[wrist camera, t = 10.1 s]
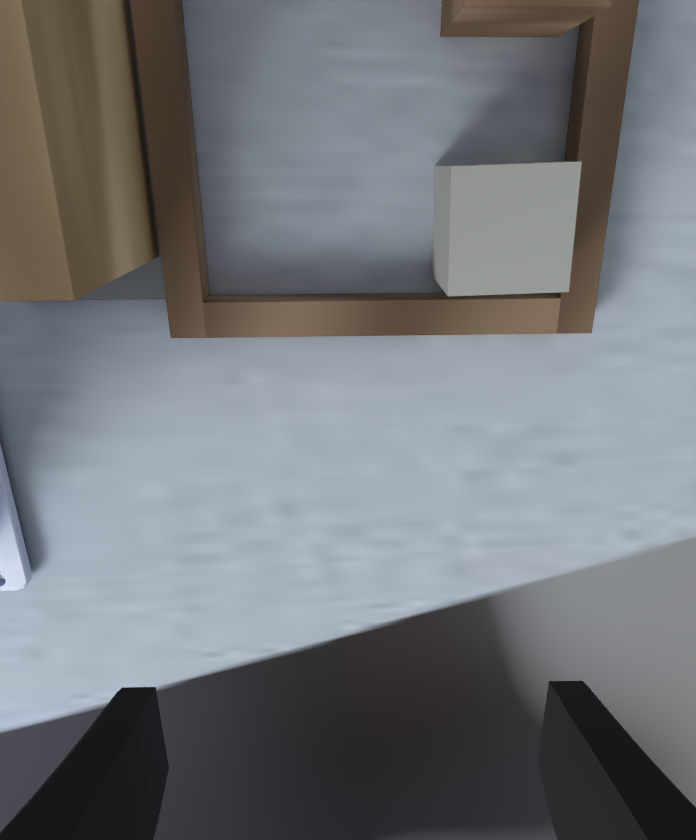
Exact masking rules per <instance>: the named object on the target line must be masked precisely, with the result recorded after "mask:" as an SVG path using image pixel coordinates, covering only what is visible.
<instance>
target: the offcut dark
mask: <svg viewBox="0 0 696 840" xmlns="http://www.w3.org/2000/svg"><path fill="white" fill-rule="evenodd" d="M611 1H612V0H442V13H441V33H440V36H441V37H559V36H561V35H562V34H564V33H566V32H567V31H569V30H571V29H573V28H574V27H576V26H578V25H580V24H581V23H583V22H585V21H587V20H588V19H590V18H592V17H594V16H595V15H597V14H599V13H600V12H602V11H604V10H606V9H607V8H609V7H611Z"/></svg>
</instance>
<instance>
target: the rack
mask: <svg viewBox="0 0 696 840" xmlns="http://www.w3.org/2000/svg"><path fill="white" fill-rule="evenodd" d="M638 1H639V0H612V1H611V7H609V8H607V9H606V10H604V11H602V12H600V13H599V14H597V15H595V16H594V17H592V18H590V19H588V20H587V21H585V22H583V23H581V24H580V28H579V37H578V46H577V55H576V64H575V73H574V82H573V90H572V99H571V108H570V117H569V126H568V135H567V144H566V153H565V161H564V162H582V165H581V175H580V185H579V195H578V205H577V215H576V225H575V235H574V245H573V255H572V265H571V276H570V286H569V292H558V293H530V294H502V295H473V296H447V294H446V293H387V294H301V295H214V296H210V295H209V284H208V274H207V263H206V252H205V242H204V231H203V220H202V210H201V199H200V188H199V178H198V167H197V156H196V146H195V135H194V124H193V114H192V103H191V92H190V82H189V71H188V60H187V50H186V39H185V28H184V18H183V7H182V0H130V3H131V11H132V19H133V28H134V36H135V44H136V53H137V61H138V69H139V78H140V86H141V94H142V103H143V111H144V119H145V127H146V136H147V144H148V152H149V161H150V169H151V177H152V186H153V194H154V202H155V211H156V219H157V227H158V236H159V244H160V252H161V260H162V269H163V277H164V285H165V294H166V302H167V310H168V319H169V327H170V335H171V338H216V337H300V336H384V335H468V334H552V333H592V327H593V320H594V313H595V306H596V298H597V291H598V284H599V277H600V270H601V263H602V256H603V249H604V242H605V235H606V228H607V221H608V214H609V206H610V199H611V192H612V185H613V178H614V171H615V164H616V157H617V150H618V143H619V136H620V129H621V122H622V115H623V107H624V100H625V93H626V86H627V79H628V72H629V65H630V58H631V51H632V44H633V37H634V30H635V23H636V16H637V8H638Z"/></svg>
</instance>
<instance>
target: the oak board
mask: <svg viewBox="0 0 696 840" xmlns="http://www.w3.org/2000/svg"><path fill="white" fill-rule="evenodd" d="M157 257H159V256H158V248H157V240H156V231H155V223H154V215H153V207H152V198H151V190H150V182H149V174H148V166H147V157H146V149H145V141H144V133H143V124H142V116H141V108H140V100H139V92H138V83H137V75H136V67H135V59H134V51H133V42H132V34H131V26H130V18H129V9H128V1H127V0H0V301H74V300H76V299H78V298H80V297H82V296H84V295H86V294H88V293H90V292H92V291H94V290H95V289H97V288H99V287H101V286H103V285H105V284H107V283H109V282H111V281H113V280H115V279H117V278H119V277H121V276H122V275H124V274H126V273H128V272H130V271H132V270H134V269H136V268H138V267H140V266H142V265H144V264H146V263H147V262H149V261H151V260H153V259H155V258H157Z"/></svg>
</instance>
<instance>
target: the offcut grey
mask: <svg viewBox="0 0 696 840" xmlns="http://www.w3.org/2000/svg"><path fill="white" fill-rule="evenodd" d="M581 165H582V162H526V163H499V164H472V165H444V166H435V168H434V227H433V278H434V279H435V280H436V282H437V283H438V284H439V285H440V287H441V288H442V289H443V291H444V292H445V293H446V294H447V296H473V295H502V294H530V293H558V292H569V286H570V276H571V265H572V255H573V245H574V235H575V225H576V215H577V205H578V195H579V185H580V175H581Z"/></svg>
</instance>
